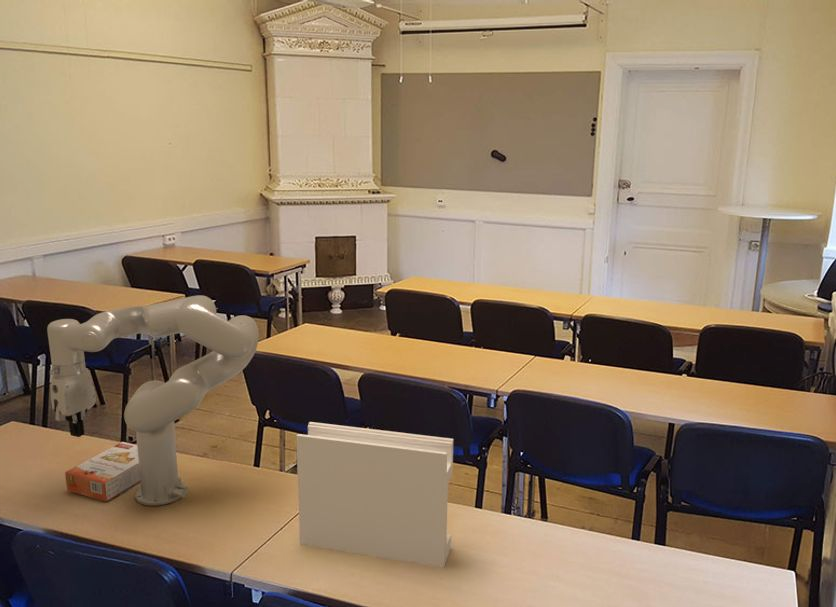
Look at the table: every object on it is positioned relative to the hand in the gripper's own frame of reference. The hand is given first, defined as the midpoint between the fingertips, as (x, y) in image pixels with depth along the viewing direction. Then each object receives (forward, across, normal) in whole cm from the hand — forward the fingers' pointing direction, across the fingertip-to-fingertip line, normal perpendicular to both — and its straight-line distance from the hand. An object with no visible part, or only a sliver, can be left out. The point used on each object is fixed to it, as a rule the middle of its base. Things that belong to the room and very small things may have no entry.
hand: (77, 435), depth 187 cm
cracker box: (+14, 0, -1) cm, 15 cm away
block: (+19, +12, -80) cm, 83 cm away
